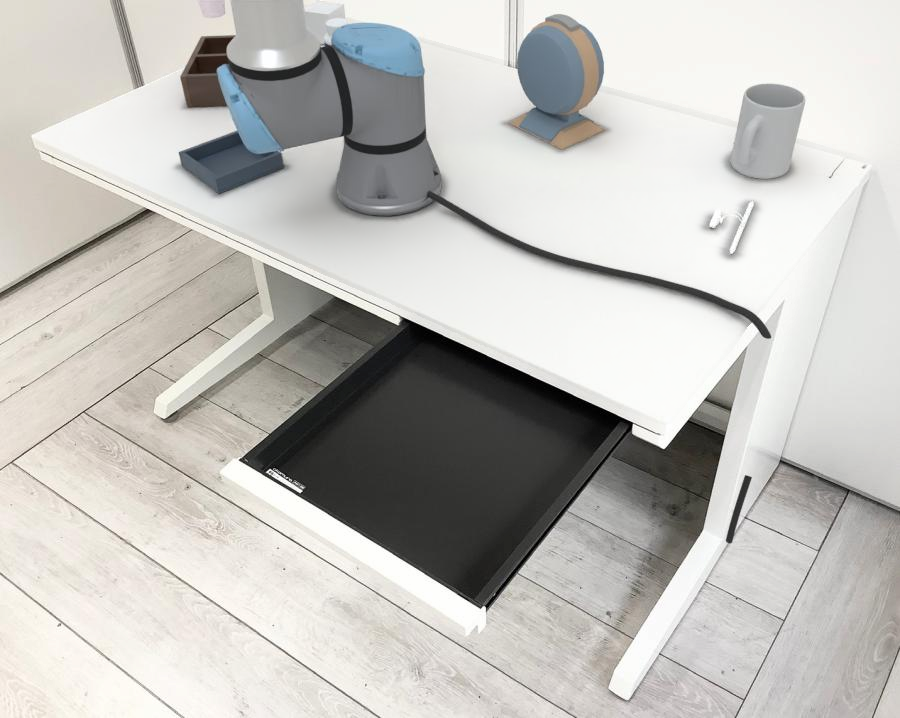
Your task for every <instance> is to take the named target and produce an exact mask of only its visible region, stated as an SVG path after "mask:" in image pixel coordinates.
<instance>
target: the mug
mask: <svg viewBox="0 0 900 718" xmlns="http://www.w3.org/2000/svg"><path fill="white" fill-rule="evenodd" d="M805 104H806V96H805V95H804V93H803V92H802V91H800V90H799V89H797V88H794V87H792V86H789V85H785V84H781V83H759V84H755V85H751V86H749V87H748V88H747V89H745V91H744V93H743V96H742V100H741V107H740V110H739V116H738V121H737V126H736V131H735V136H734V141H733V146H732V150H731V155H730V165H731V167H732V169H734V170H735V171H736V172H737V173H739V174H740V175H743V176H746V177H749V178H754V179H760V180H769V179H776V178H781V177H782V176H784V175H785V174H786V173H788V171H789V170H790V167H791V163H792V158H793V153H794V151H795V145H796V143H797V142H796V141H797V138H798V133H799V129H800V126H801V121H802V117H803V113H804V109H805Z"/></svg>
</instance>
